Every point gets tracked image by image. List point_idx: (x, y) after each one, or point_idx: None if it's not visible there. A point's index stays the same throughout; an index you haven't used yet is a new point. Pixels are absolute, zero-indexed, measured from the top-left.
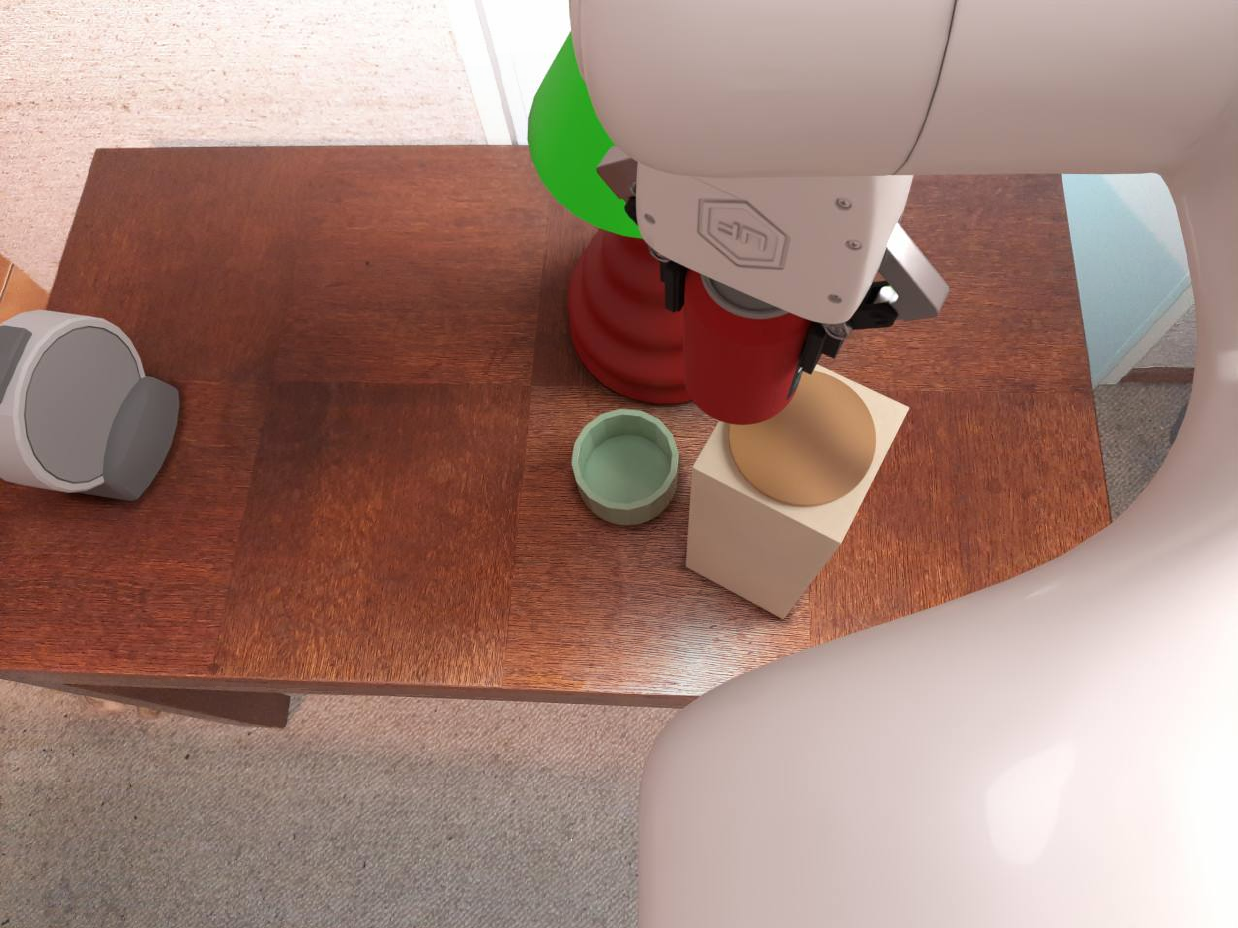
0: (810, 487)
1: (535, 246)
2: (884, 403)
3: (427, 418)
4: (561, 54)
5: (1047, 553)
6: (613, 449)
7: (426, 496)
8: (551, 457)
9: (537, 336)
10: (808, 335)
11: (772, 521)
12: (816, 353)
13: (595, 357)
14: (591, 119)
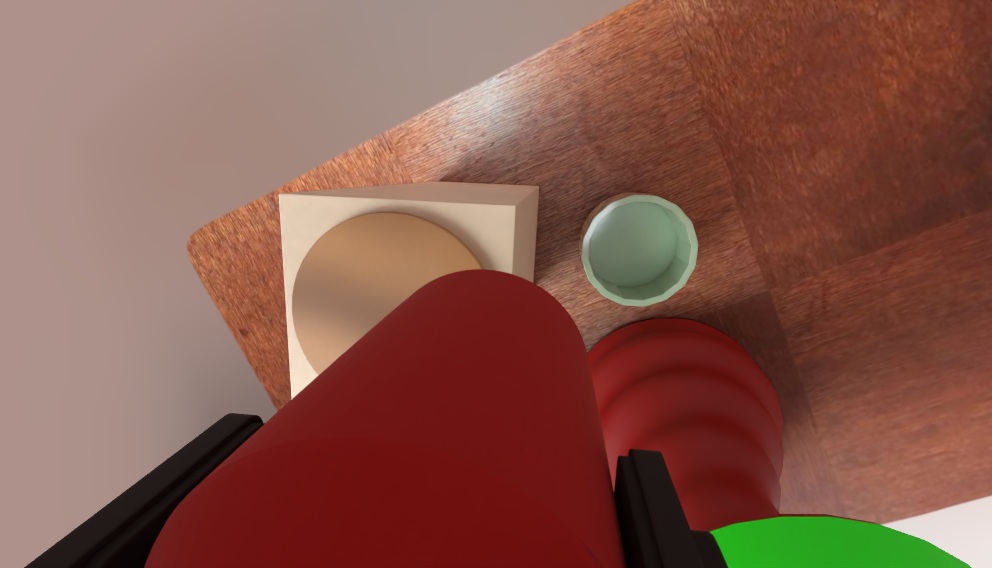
0: (346, 250)
1: (830, 432)
2: None
3: (870, 209)
4: None
5: (276, 330)
6: (655, 262)
7: (831, 128)
8: (713, 228)
9: (785, 342)
10: (114, 552)
11: (393, 195)
12: (136, 487)
13: (716, 341)
14: None
